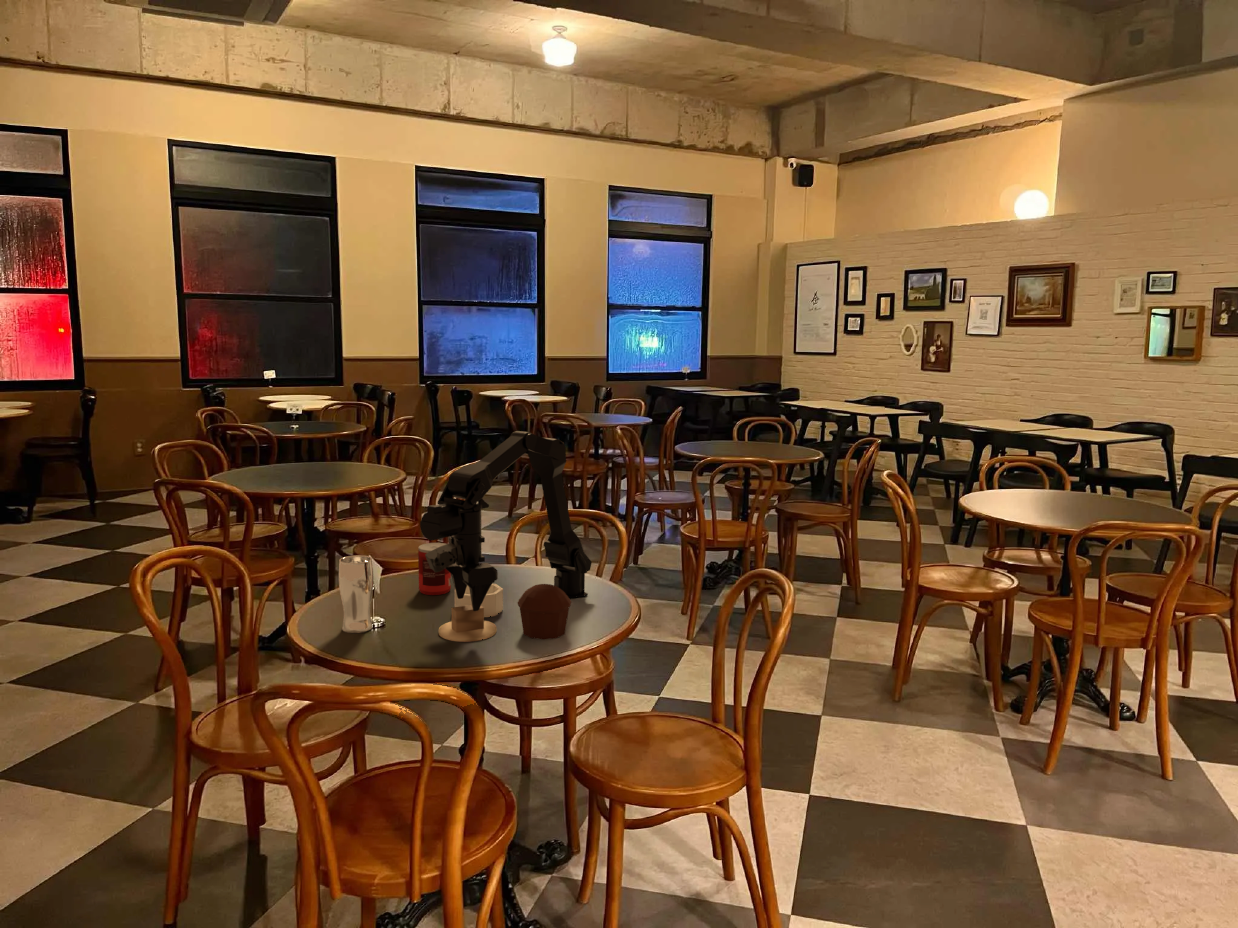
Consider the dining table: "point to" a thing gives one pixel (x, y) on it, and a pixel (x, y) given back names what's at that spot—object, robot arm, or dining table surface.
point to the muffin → (544, 611)
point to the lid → (467, 625)
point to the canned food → (432, 573)
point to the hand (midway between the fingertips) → (467, 604)
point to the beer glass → (356, 592)
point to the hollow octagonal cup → (490, 602)
